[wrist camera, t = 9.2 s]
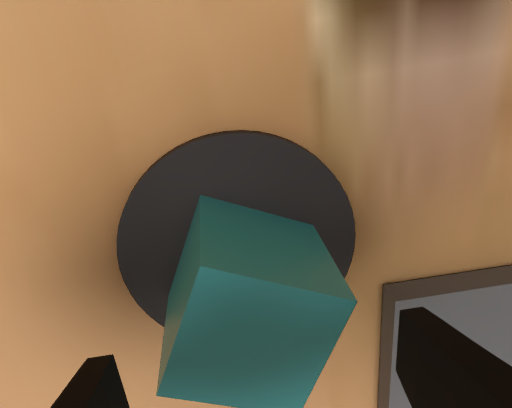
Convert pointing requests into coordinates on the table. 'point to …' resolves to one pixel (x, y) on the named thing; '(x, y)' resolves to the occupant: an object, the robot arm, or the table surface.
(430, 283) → the post base
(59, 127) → the table surface
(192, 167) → the coaster
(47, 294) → the table surface
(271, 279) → the teal cube
